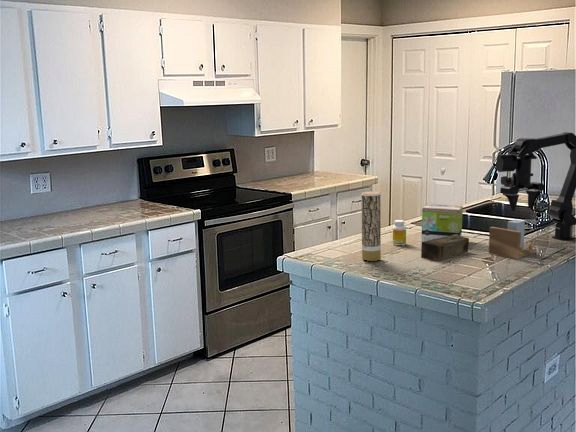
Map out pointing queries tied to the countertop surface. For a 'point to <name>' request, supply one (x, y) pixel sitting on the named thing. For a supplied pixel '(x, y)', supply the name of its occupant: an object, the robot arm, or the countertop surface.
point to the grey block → (518, 228)
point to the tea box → (441, 221)
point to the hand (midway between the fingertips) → (521, 209)
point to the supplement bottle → (399, 233)
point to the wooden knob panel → (507, 243)
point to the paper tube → (371, 226)
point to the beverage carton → (444, 247)
